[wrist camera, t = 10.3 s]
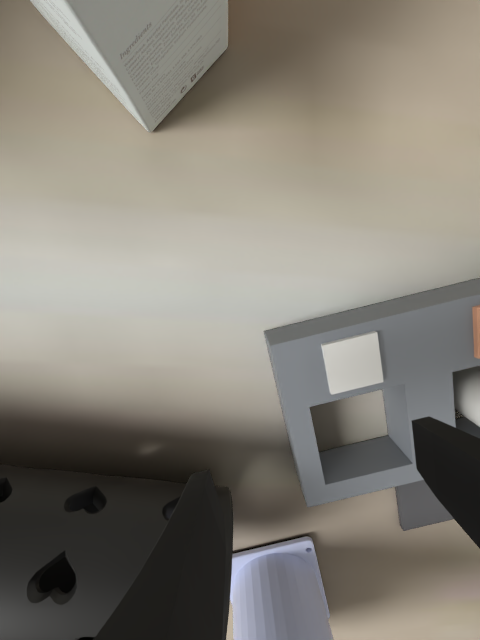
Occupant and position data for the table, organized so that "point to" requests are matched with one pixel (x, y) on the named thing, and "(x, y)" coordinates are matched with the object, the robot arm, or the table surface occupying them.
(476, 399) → the plug
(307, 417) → the socket board
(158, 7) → the small box
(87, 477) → the muzzle brake
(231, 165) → the table surface
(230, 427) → the table surface
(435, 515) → the plug mat
